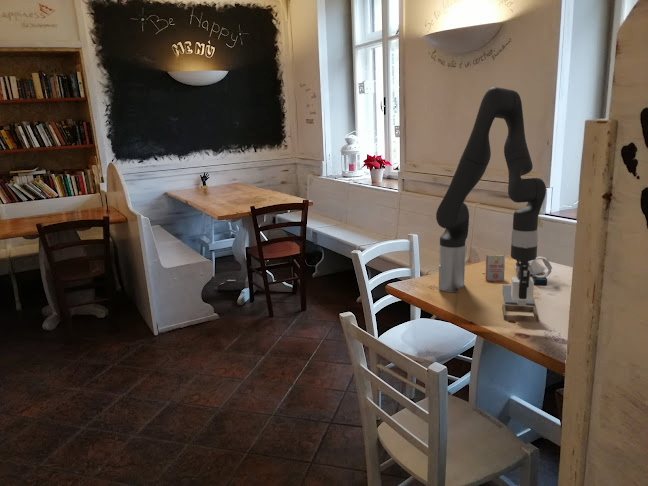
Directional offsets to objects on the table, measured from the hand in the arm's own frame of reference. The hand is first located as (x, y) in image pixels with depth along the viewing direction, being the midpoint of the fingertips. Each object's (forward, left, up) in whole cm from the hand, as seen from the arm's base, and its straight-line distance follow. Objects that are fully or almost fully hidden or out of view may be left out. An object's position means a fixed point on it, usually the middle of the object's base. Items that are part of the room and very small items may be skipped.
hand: (521, 295), depth 161 cm
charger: (0, 0, -3) cm, 3 cm away
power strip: (0, +14, -8) cm, 16 cm away
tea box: (-6, +39, -8) cm, 40 cm away
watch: (+10, +35, -8) cm, 37 cm away
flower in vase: (+8, +51, -8) cm, 52 cm away
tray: (0, 0, -8) cm, 8 cm away
